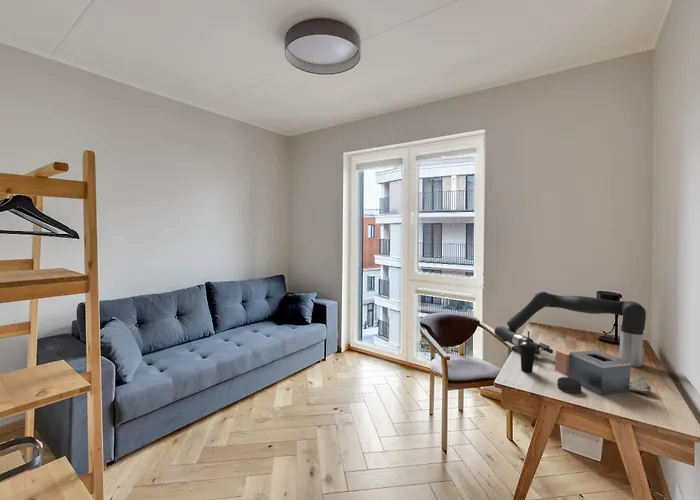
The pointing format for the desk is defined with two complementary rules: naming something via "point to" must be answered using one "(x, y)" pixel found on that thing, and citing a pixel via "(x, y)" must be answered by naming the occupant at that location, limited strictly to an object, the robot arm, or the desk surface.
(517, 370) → the desk surface
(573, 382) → the smart speaker
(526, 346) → the drinking cup
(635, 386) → the rock sample
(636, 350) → the robot arm
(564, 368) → the salmon orange block
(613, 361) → the coin box
